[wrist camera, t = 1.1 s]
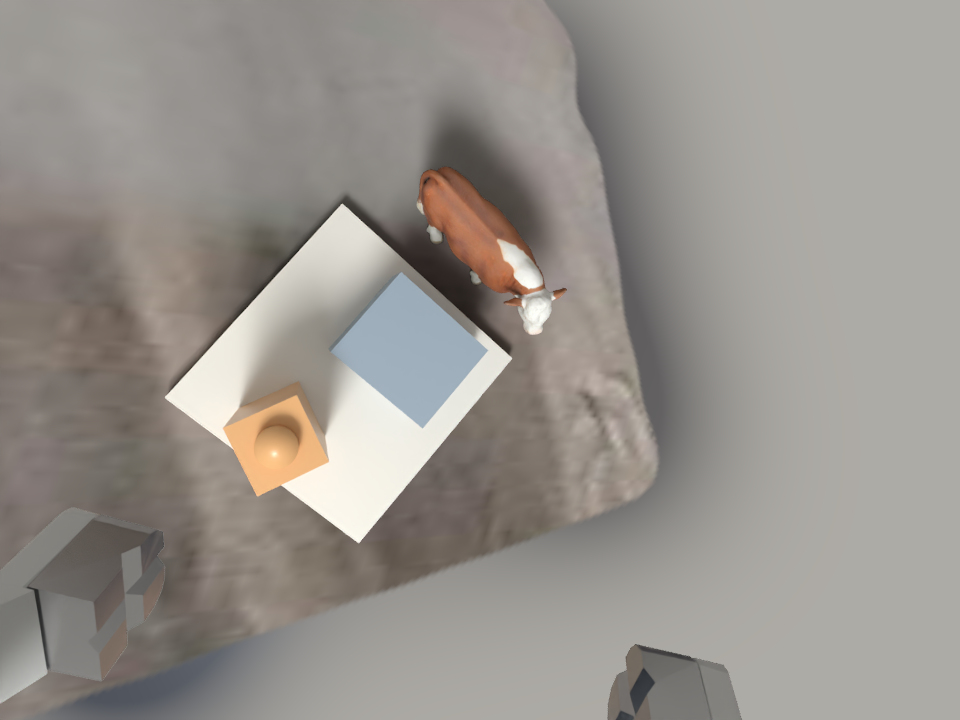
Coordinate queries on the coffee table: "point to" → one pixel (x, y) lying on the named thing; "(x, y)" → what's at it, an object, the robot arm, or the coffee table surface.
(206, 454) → the coffee table surface
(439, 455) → the coffee table surface
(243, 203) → the coffee table surface
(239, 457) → the tall brick
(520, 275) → the bull figurine
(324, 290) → the baseplate
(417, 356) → the base block
